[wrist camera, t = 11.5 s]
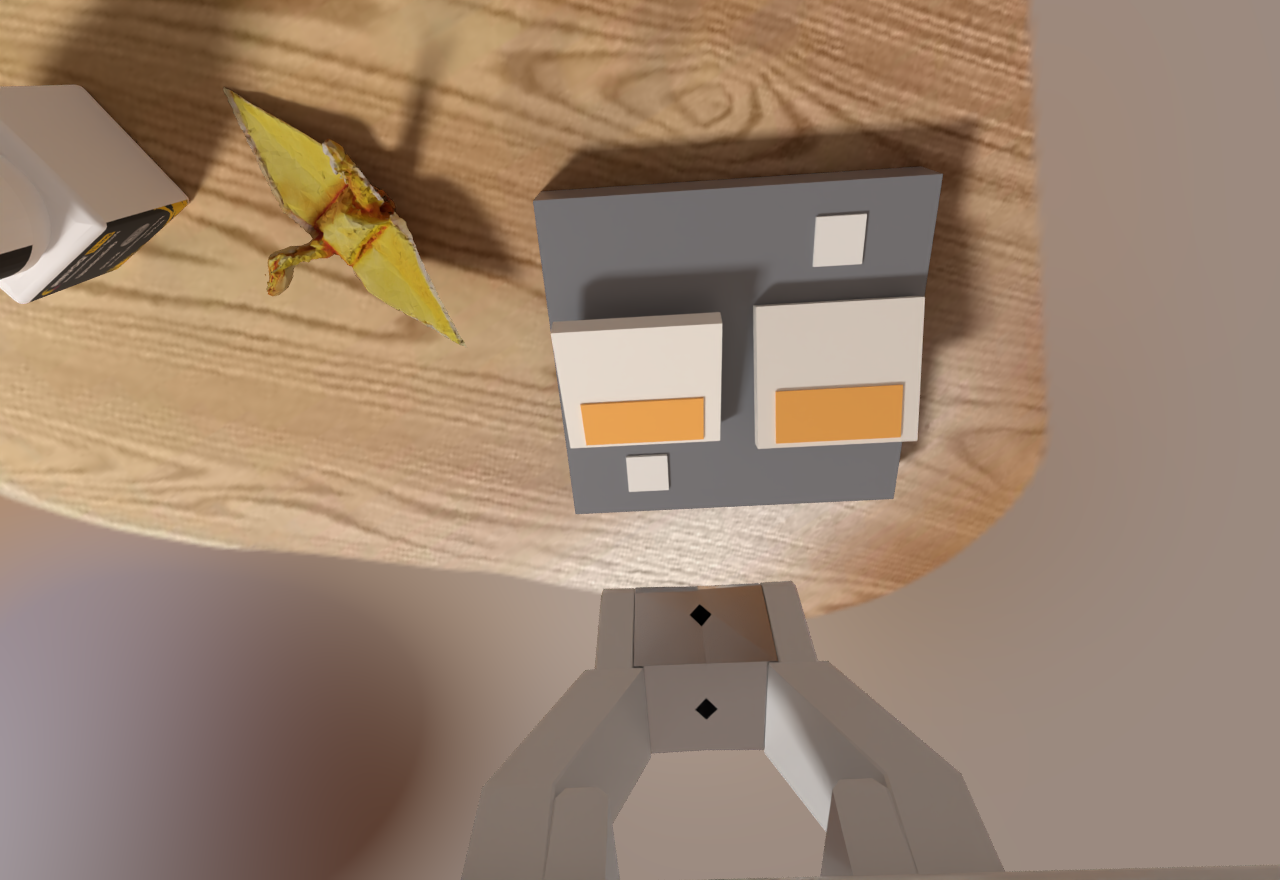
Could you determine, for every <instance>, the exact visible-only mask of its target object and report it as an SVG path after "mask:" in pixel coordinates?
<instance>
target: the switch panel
mask: <svg viewBox="0 0 1280 880" xmlns="http://www.w3.org/2000/svg"><path fill="white" fill-rule="evenodd" d="M942 177H943V174H942V173H939V172H936V171H933V170H930V169H928V168H925V167H922V166H918V167H903V168H888V169H873V170H858V171H842V172H827V173H812V174H797V175H782V176H767V177H751V178H736V179H721V180H706V181H691V182H676V183H660V184H645V185H630V186H615V187H600V188H585V189H569V190H554V191H541V192H540V193H539V194H538V195H537V197H536V198H535V199H534V200H533V205H534V212H535V219H536V227H537V234H538V241H539V249H540V256H541V263H542V271H543V278H544V285H545V293H546V300H547V307H548V315H549V322H550V329H552V324H553V322H559V321H576V320H593V319H610V318H627V317H644V316H662V315H679V314H696V313H713V312H720V314H721V319H722V370H721V420H720V441H706V442H686V443H667V444H648V445H628V446H609V447H589V448H570V442H569V436H568V431H567V425H566V419H565V413H564V408H563V402H562V396H561V390H560V384H559V379H558V373H557V367H556V374H557V381H558V388H559V396H560V403H561V410H562V418H563V425H564V432H565V440H566V447H567V454H568V462H569V469H570V476H571V484H572V491H573V498H574V506H575V513H576V514H589V513H609V512H630V511H651V510H672V509H693V508H714V507H735V506H756V505H776V504H797V503H818V502H839V501H860V500H881V499H894V492H895V486H896V479H897V473H898V466H899V460H900V453H901V446H902V442H885V443H865V444H845V445H826V446H806V447H787V448H767V449H758V448H757V446H756V444H755V408H754V339H753V305H769V304H786V303H803V302H820V301H837V300H854V299H871V298H888V297H905V296H921V297H924V295H925V289H926V282H927V276H928V269H929V263H930V256H931V249H932V243H933V236H934V230H935V223H936V217H937V210H938V204H939V197H940V190H941V184H942ZM553 352H554V350H553ZM554 359H555V356H554ZM555 366H556V361H555Z"/></svg>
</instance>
